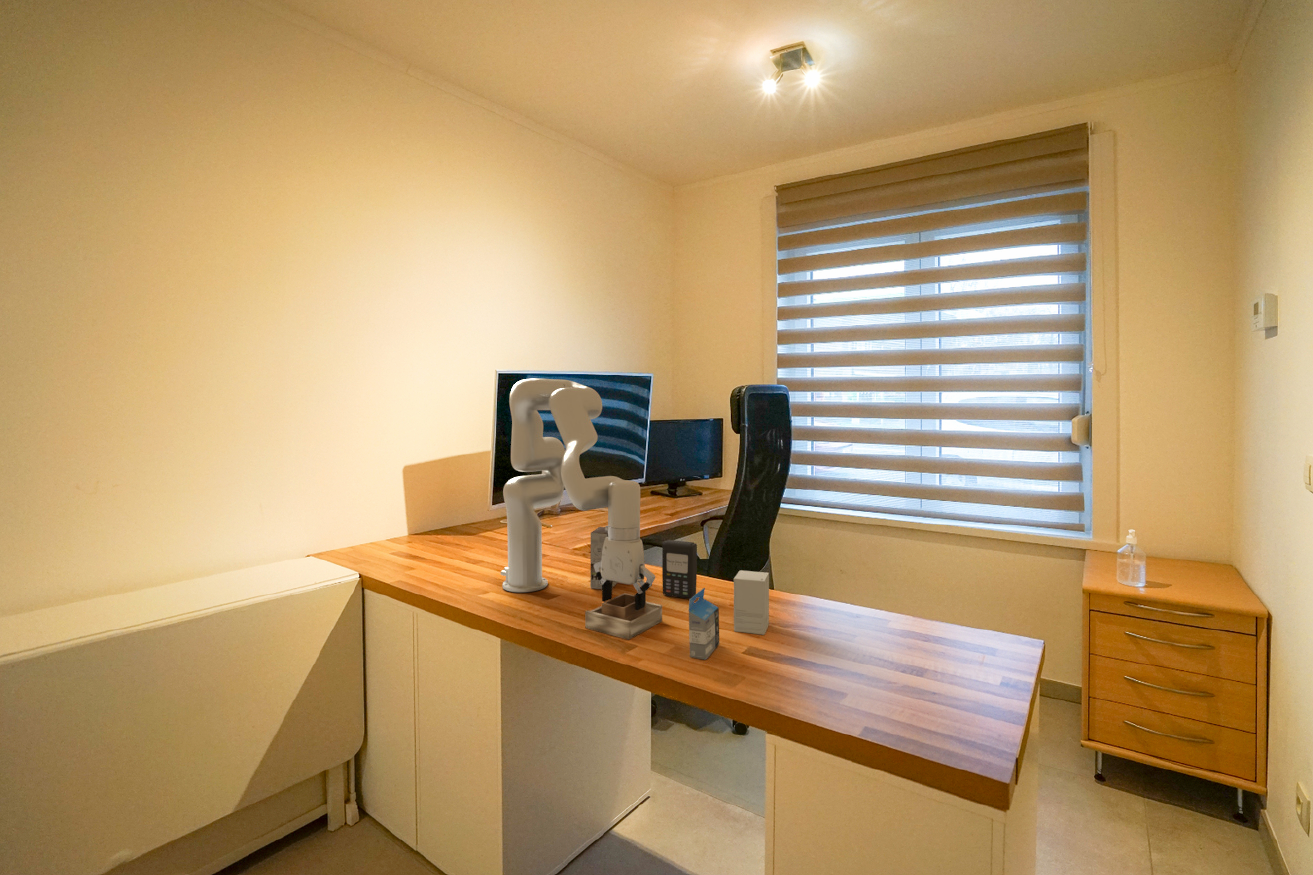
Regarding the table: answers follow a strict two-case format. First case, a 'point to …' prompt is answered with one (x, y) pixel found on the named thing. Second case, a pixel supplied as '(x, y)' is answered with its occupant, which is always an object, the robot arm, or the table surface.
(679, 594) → the card reader
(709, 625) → the label tape box
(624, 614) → the small crate
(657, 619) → the tray
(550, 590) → the table surface
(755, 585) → the supplement box
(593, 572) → the coffee box
